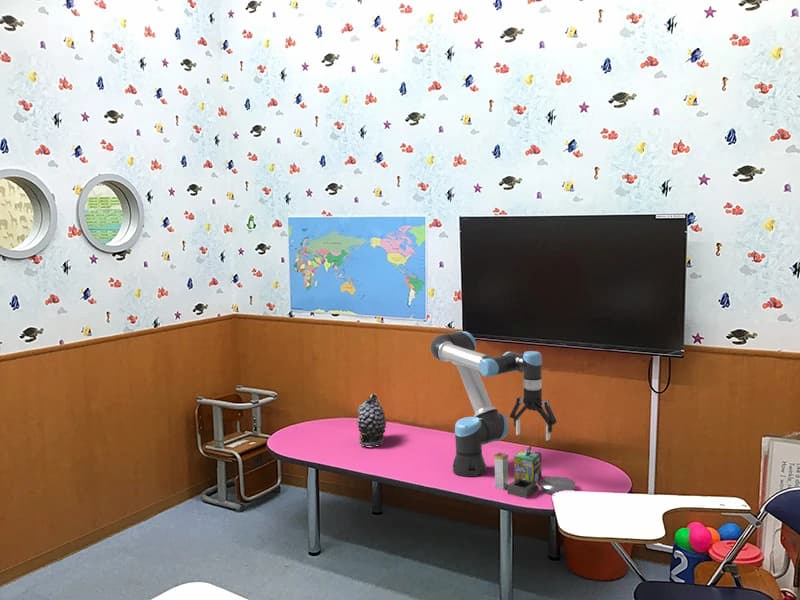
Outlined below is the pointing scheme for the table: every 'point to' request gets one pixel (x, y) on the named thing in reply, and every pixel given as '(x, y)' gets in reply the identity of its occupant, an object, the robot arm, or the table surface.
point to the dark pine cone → (371, 422)
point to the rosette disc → (556, 484)
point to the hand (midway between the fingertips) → (532, 436)
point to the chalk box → (528, 465)
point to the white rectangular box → (501, 470)
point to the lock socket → (522, 488)
